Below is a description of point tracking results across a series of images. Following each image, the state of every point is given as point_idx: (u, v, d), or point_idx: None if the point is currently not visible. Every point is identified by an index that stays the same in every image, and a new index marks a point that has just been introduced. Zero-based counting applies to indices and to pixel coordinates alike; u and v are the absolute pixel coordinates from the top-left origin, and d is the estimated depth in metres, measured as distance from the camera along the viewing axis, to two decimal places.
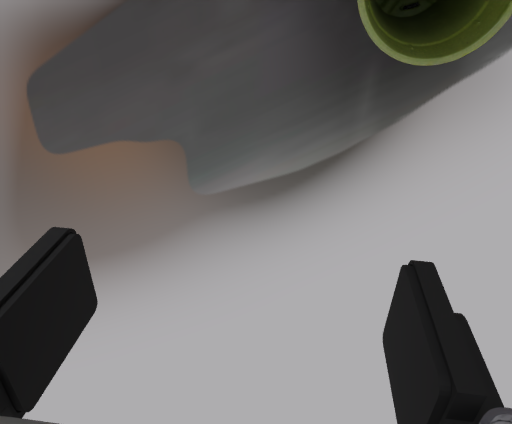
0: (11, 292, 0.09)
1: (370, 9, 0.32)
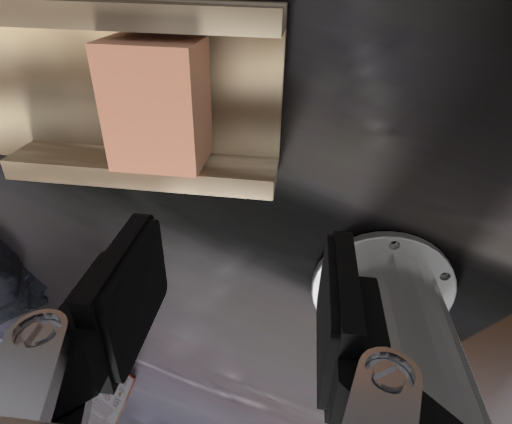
0: (113, 270, 0.10)
1: None
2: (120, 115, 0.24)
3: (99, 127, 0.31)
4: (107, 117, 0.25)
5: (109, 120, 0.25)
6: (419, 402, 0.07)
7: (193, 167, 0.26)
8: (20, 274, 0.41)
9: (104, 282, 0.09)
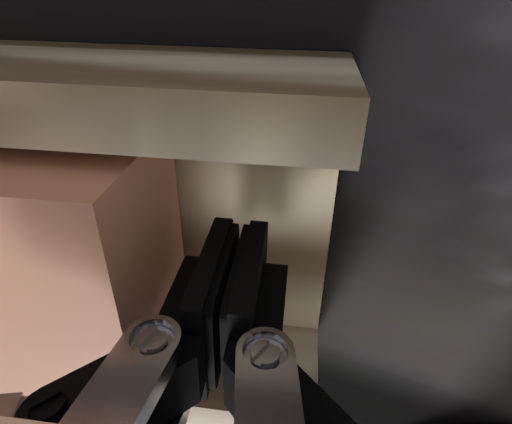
0: (212, 276, 0.10)
1: None
2: None
3: None
4: None
5: None
6: (296, 367, 0.08)
7: None
8: None
9: (208, 288, 0.09)
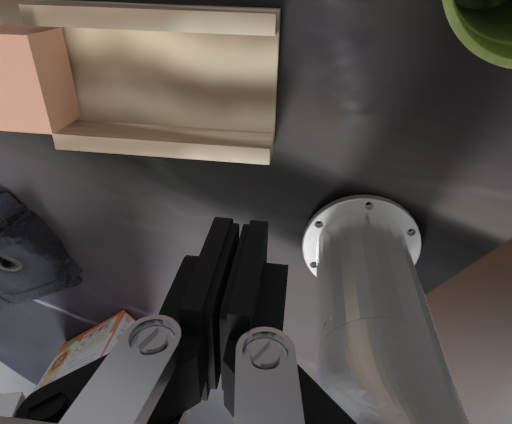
0: (212, 275, 0.10)
1: None
2: None
3: (129, 108, 0.38)
4: None
5: None
6: (296, 367, 0.08)
7: (48, 125, 0.34)
8: (62, 258, 0.50)
9: (208, 288, 0.09)
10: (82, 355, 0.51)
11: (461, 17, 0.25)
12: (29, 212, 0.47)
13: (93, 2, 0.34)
